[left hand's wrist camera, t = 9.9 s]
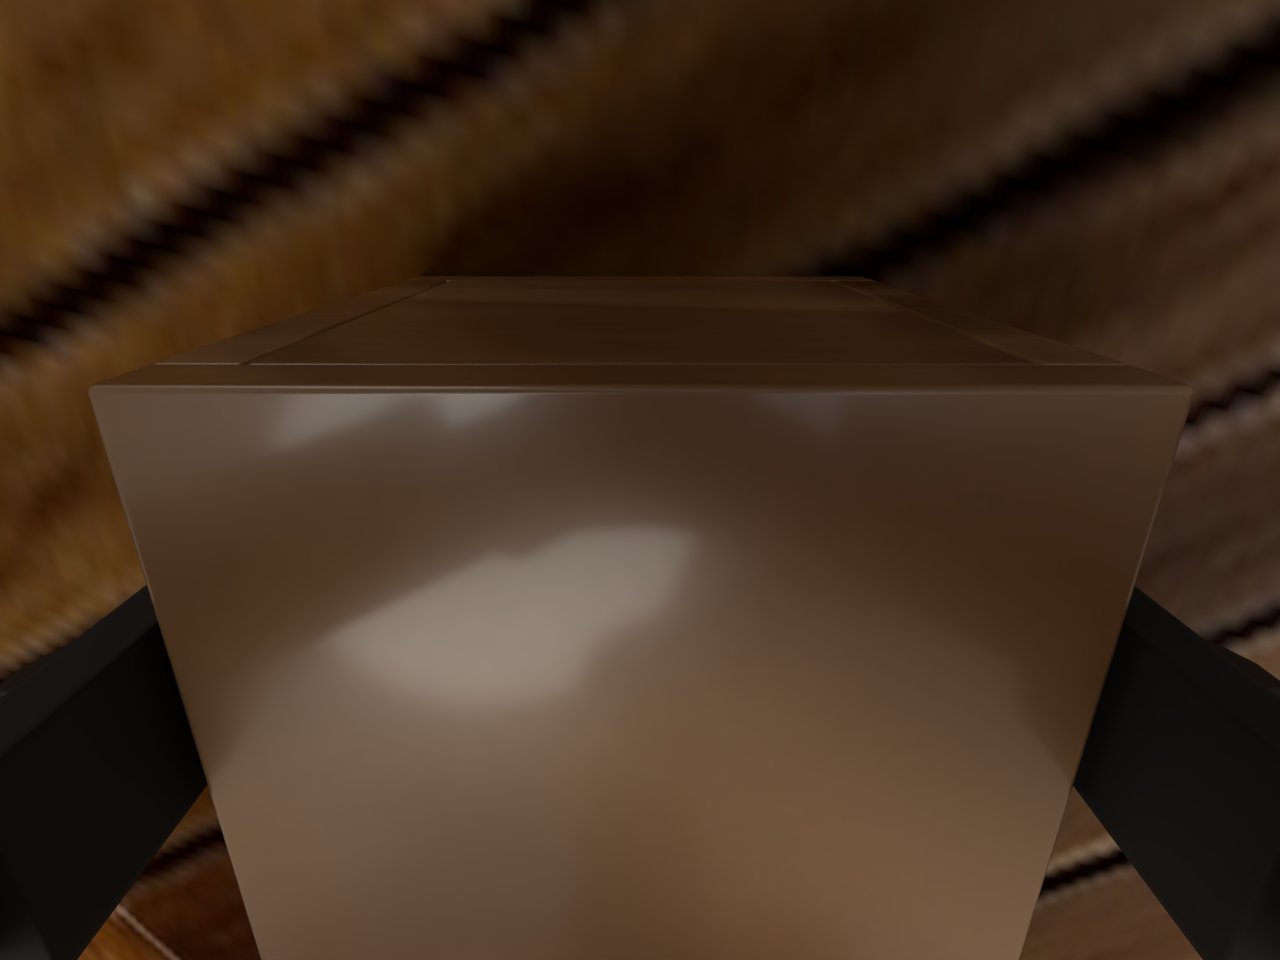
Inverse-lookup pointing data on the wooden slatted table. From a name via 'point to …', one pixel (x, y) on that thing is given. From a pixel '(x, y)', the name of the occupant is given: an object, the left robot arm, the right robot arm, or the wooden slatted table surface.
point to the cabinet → (640, 611)
